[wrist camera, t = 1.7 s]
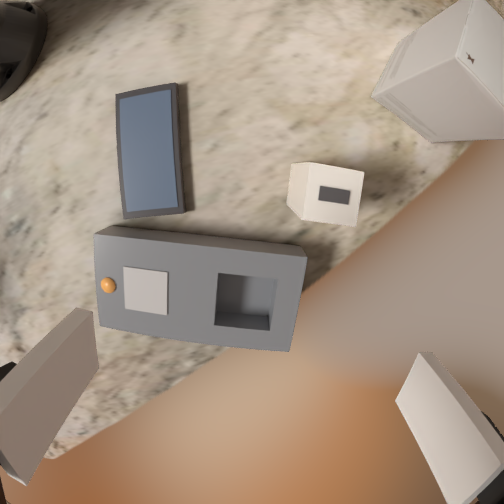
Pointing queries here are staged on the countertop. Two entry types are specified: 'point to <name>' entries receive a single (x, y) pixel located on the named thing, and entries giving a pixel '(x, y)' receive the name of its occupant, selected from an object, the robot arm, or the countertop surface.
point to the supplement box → (449, 75)
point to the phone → (150, 152)
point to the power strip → (198, 287)
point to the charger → (325, 193)
